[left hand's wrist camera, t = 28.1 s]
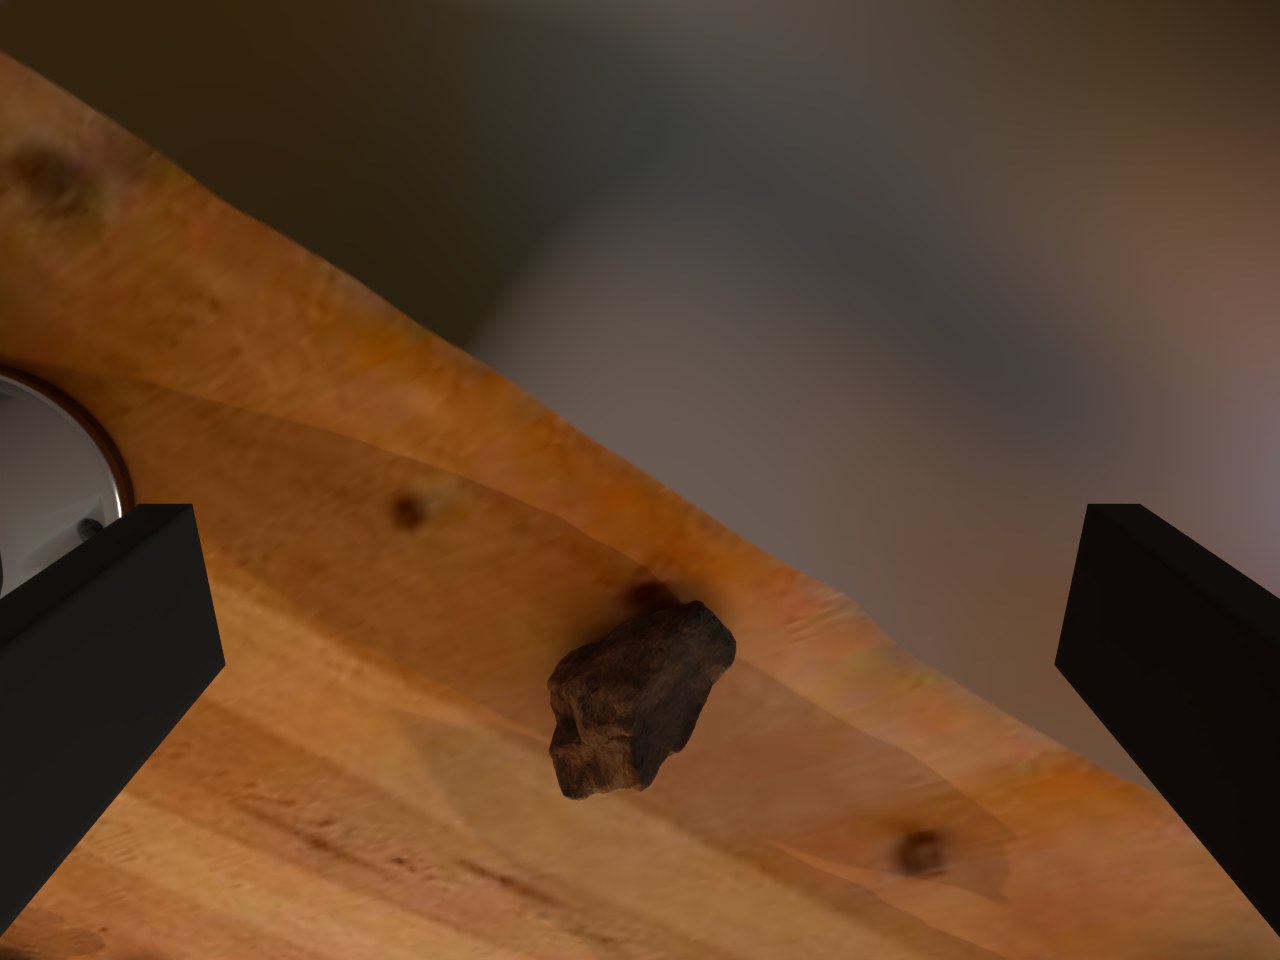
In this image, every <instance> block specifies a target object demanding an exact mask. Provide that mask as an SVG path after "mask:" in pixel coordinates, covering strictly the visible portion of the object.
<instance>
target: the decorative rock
mask: <svg viewBox="0 0 1280 960" xmlns="http://www.w3.org/2000/svg"><path fill="white" fill-rule="evenodd" d="M735 653H736V641H735V639H734V637H733V636H732V634H731V632H730V631H729V630H728V629H727V628H726V627H725V626H724V625H723V624H722V623H721V622H720V621H719V619H718V618H717V617H716V616H715V615H714V614H713V612H711V611H710V610H709V609H708V608H706V607H705V606H704V604H703V603H702V602H700V601H697V600H696V601H692V602H691V603H688V604H685V605H683V606H681V607H674V608H669V609H665V610H659V611H657V612H655V613H653V614H651V615H649V616H647V617H642V618H637V619H634V620H631V621H627V622H624V623H623V624H621V625H619V626H618V627H617V628H616V629H615V630H613V631H612V632H611V633H610V634H609V635H607V636H605V637H604V638H603V639H602V640H601V641H600V642H596V643H589V644H587V645H585V646H582V647H580V648H578V649H575V650H573V651H571V652H569V653H568V654H567V655H566V656H565V657H564V658H563V659H562V660H561V661H560V662H559V663H558V664H557V666H556V668H555V670H554V672H553V674H552V675H551V676H550V678H549V680H548V682H547V688H548V690H549V691H550V693H551V695H550V705H551V707H552V709H553V712H554V714H555V717H556V722H557V725H556V729H555V731H554V734H553V737H552V741H551V745H550V748H549V753H550V757H551V758H552V759H553V766H554V768H555V771H556V776H557V779H558V782H559V786H560V789H561V791H562V793H563V796H565V797H567V798H569V799H574V800H584V799H586V798H587V797H589V796H590V795H592V794H596V793H602V794H604V793H607V792H612V791H619V790H623V789H626V790H629V791H632V792H641V791H643V790H644V789H646V788H647V787H649V786H650V785H651V783H652V782H653V780H654V778H655V777H656V775H657V773H658V770H659V767H660V766H661V764H662V763H663V762H664V761H665V759H666V758H667V757H668V756H670V755H672V754H673V753H679V752H680V751H681V750H682V749H683V748H684V747H685V745H686V743H687V742H688V740H689V738H690V736H691V734H692V732H693V730H694V728H695V725H696V722H697V719H698V717H699V714H700V712H701V710H702V708H703V706H704V704H705V703H706V701H707V697H708V695H709V693H710V690H711V688H712V685H713V684H714V683H716V682H717V680H718V679H719V678H720V677H721V676H722V675H723V674H724V673H725V671H726V670H727V669H729V668H730V667H731V665H732V663H733V661H734V658H735Z"/></svg>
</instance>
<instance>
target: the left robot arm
mask: <svg viewBox="0 0 1280 960" xmlns="http://www.w3.org/2000/svg"><path fill="white" fill-rule="evenodd" d="M225 665H226V664H225V659H224V655H223V650H222V645H221V640H220V635H219V630H218V626H217V621H216V616H215V611H214V606H213V601H212V597H211V592H210V587H209V582H208V577H207V573H206V568H205V563H204V558H203V553H202V548H201V544H200V539H199V534H198V529H197V524H196V519H195V515H194V510H193V505H192V504H139V505H138V506H136V507H135V508H134V498H133V491H132V487H131V482H130V479H129V476H128V473H127V470H126V468H125V466H124V463H123V461H122V459H121V457H120V455H119V453H118V451H117V449H116V448H115V446H114V445H113V443H112V442H111V440H110V438H109V437H108V436H107V434H106V433H105V432H104V430H103V429H102V428H101V427H100V425H99V424H98V423H97V422H96V421H95V420H94V419H93V418H92V417H91V416H90V415H89V414H88V413H87V412H86V411H85V410H84V409H83V408H82V407H81V406H80V405H79V404H77V403H76V402H75V401H74V400H72V399H71V398H70V397H69V396H67V395H66V394H64V393H63V392H61V391H60V390H58V389H57V388H55V387H54V386H52V385H50V384H48V383H46V382H45V381H43V380H41V379H39V378H37V377H34V376H32V375H30V374H28V373H25V372H22V371H20V370H17V369H14V368H10V367H7V366H3V365H0V937H1V936H2V934H3V933H4V932H5V931H6V930H7V928H8V927H9V926H10V925H11V924H12V922H13V921H14V920H15V919H16V918H17V916H18V915H19V914H20V913H21V912H22V910H23V909H24V908H25V907H26V905H27V904H28V903H29V902H30V901H31V899H32V898H33V897H34V896H35V895H36V893H37V892H38V891H39V890H40V889H41V887H42V886H43V885H44V884H45V883H46V881H47V880H48V879H49V878H50V876H51V875H52V874H53V873H54V872H55V870H56V869H57V868H58V867H59V866H60V864H61V863H62V862H63V861H64V860H65V858H66V857H67V856H68V855H69V854H70V852H71V851H72V850H73V849H74V847H75V846H76V845H77V844H78V843H79V841H80V840H81V839H82V838H83V837H84V835H85V834H86V833H87V832H88V831H89V829H90V828H91V827H92V826H93V824H94V823H95V822H96V821H97V820H98V818H99V817H100V816H101V815H102V814H103V812H104V811H105V810H106V809H107V808H108V806H109V805H110V804H111V803H112V802H113V800H114V799H115V798H116V797H117V795H118V794H119V793H120V792H121V791H122V789H123V788H124V787H125V786H126V785H127V783H128V782H129V781H130V780H131V779H132V777H133V776H134V775H135V774H136V773H137V771H138V770H139V769H140V768H141V766H142V765H143V764H144V763H145V762H146V760H147V759H148V758H149V757H150V756H151V754H152V753H153V752H154V751H155V750H156V748H157V747H158V746H159V745H160V744H161V742H162V741H163V740H164V739H165V737H166V736H167V735H168V734H169V733H170V731H171V730H172V729H173V728H174V727H175V725H176V724H177V723H178V722H179V721H180V719H181V718H182V717H183V716H184V715H185V713H186V712H187V711H188V710H189V708H190V707H191V706H192V705H193V704H194V702H195V701H196V700H197V699H198V698H199V696H200V695H201V694H202V693H203V692H204V690H205V689H206V688H207V687H208V686H209V684H210V683H211V682H212V681H213V679H214V678H215V677H216V676H217V675H218V673H219V672H220V671H221V670H222V669H223V667H224V666H225ZM1054 665H1055V666H1056V667H1057V669H1058V670H1059V671H1060V672H1061V673H1062V675H1063V676H1064V677H1065V678H1066V679H1067V681H1068V682H1069V683H1070V684H1071V685H1072V687H1073V688H1074V689H1075V690H1076V692H1077V693H1078V694H1079V695H1080V696H1081V698H1082V699H1083V700H1084V701H1085V702H1086V704H1087V705H1088V706H1089V707H1090V708H1091V710H1092V711H1093V712H1094V713H1095V715H1096V716H1097V717H1098V718H1099V719H1100V721H1101V722H1102V723H1103V724H1104V725H1105V726H1106V728H1107V729H1108V730H1109V731H1110V733H1111V734H1112V735H1113V736H1114V737H1115V739H1116V740H1117V741H1118V742H1119V744H1120V745H1121V746H1122V747H1123V748H1124V750H1125V751H1126V752H1127V753H1128V754H1129V756H1130V757H1131V758H1132V759H1133V760H1134V762H1135V763H1136V764H1137V765H1138V766H1139V768H1140V769H1141V770H1142V771H1143V773H1144V774H1145V775H1146V776H1147V777H1148V779H1149V780H1150V781H1151V782H1152V783H1153V785H1154V786H1155V787H1156V788H1157V789H1158V791H1159V792H1160V793H1161V794H1162V795H1163V797H1164V798H1165V799H1166V800H1167V802H1168V803H1169V804H1170V805H1171V806H1172V808H1173V809H1174V810H1175V811H1176V812H1177V814H1178V815H1179V816H1180V817H1181V818H1182V820H1183V821H1184V822H1185V823H1186V824H1187V826H1188V827H1189V828H1190V829H1191V831H1192V832H1193V833H1194V834H1195V835H1196V837H1197V838H1198V839H1199V840H1200V841H1201V843H1202V844H1203V845H1204V846H1205V847H1206V849H1207V850H1208V851H1209V852H1210V854H1211V855H1212V856H1213V857H1214V858H1215V860H1216V861H1217V862H1218V863H1219V864H1220V866H1221V867H1222V868H1223V869H1224V870H1225V872H1226V873H1227V874H1228V875H1229V876H1230V878H1231V879H1232V880H1233V881H1234V883H1235V884H1236V885H1237V886H1238V887H1239V889H1240V890H1241V891H1242V892H1243V893H1244V895H1245V896H1246V897H1247V898H1248V899H1249V901H1250V902H1251V903H1252V904H1253V905H1254V907H1255V908H1256V909H1257V910H1258V912H1259V913H1260V914H1261V915H1262V916H1263V918H1264V919H1265V920H1266V921H1267V922H1268V924H1269V925H1270V926H1271V927H1272V928H1273V930H1274V931H1275V932H1276V933H1277V934H1278V936H1279V937H1280V599H1279V598H1278V597H1276V596H1275V595H1273V594H1272V593H1270V592H1269V591H1267V590H1266V589H1264V588H1263V587H1262V586H1260V585H1259V584H1257V583H1256V582H1254V581H1253V580H1251V579H1250V578H1248V577H1247V576H1245V575H1244V574H1242V573H1241V572H1239V571H1238V570H1237V569H1235V568H1234V567H1232V566H1231V565H1229V564H1228V563H1226V562H1225V561H1223V560H1222V559H1220V558H1219V557H1217V556H1216V555H1214V554H1213V553H1212V552H1210V551H1209V550H1207V549H1206V548H1204V547H1203V546H1201V545H1200V544H1198V543H1197V542H1195V541H1194V540H1192V539H1191V538H1189V537H1188V536H1186V535H1185V534H1184V533H1182V532H1181V531H1179V530H1178V529H1176V528H1175V527H1173V526H1172V525H1170V524H1169V523H1167V522H1166V521H1164V520H1163V519H1161V518H1160V517H1159V516H1157V515H1156V514H1154V513H1153V512H1151V511H1150V510H1148V509H1147V508H1145V507H1144V506H1142V505H1141V504H1088V505H1087V510H1086V515H1085V519H1084V524H1083V529H1082V534H1081V539H1080V544H1079V548H1078V553H1077V558H1076V563H1075V568H1074V573H1073V577H1072V582H1071V587H1070V592H1069V597H1068V601H1067V606H1066V611H1065V616H1064V621H1063V626H1062V630H1061V635H1060V640H1059V645H1058V650H1057V655H1056V659H1055V664H1054Z"/></svg>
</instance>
